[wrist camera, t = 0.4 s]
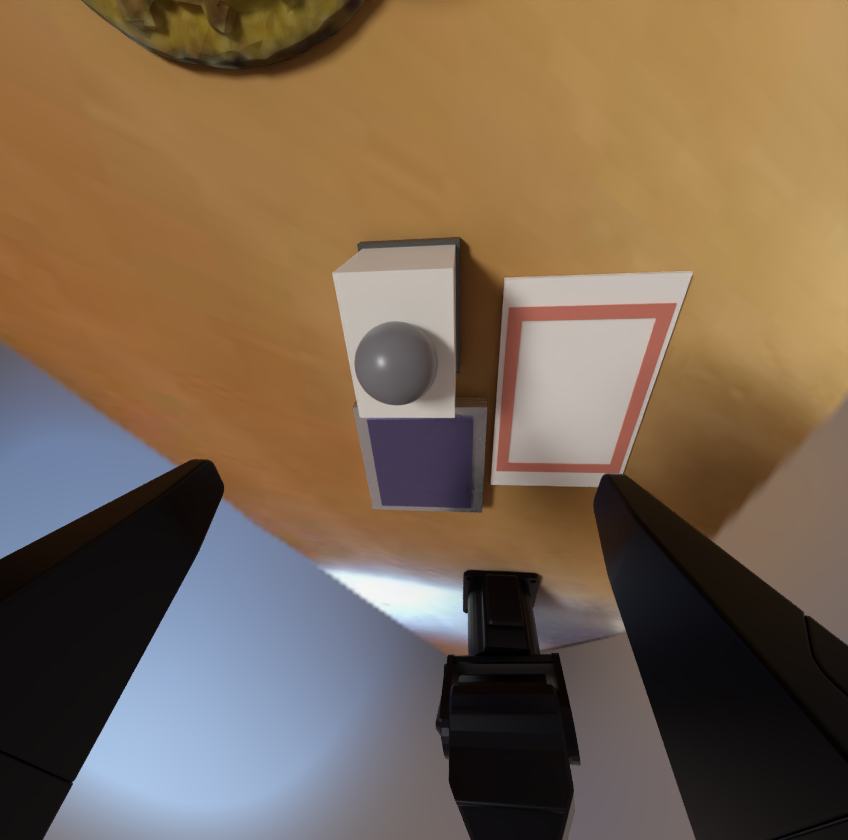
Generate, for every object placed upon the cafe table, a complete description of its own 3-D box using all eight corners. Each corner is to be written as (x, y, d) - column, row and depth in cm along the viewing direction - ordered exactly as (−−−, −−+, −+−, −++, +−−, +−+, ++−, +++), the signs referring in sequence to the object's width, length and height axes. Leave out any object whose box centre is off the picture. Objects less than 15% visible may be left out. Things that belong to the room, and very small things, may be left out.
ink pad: (481, 499, 27) (482, 515, 26) (376, 497, 28) (372, 511, 27) (486, 396, 22) (487, 409, 21) (357, 396, 23) (351, 409, 22)
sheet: (616, 484, 25) (618, 488, 25) (490, 481, 26) (490, 485, 26) (689, 270, 17) (694, 272, 17) (504, 277, 18) (505, 279, 18)
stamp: (459, 236, 17) (458, 281, 10) (459, 366, 21) (458, 459, 14) (361, 241, 18) (299, 286, 11) (378, 367, 22) (341, 457, 15)
